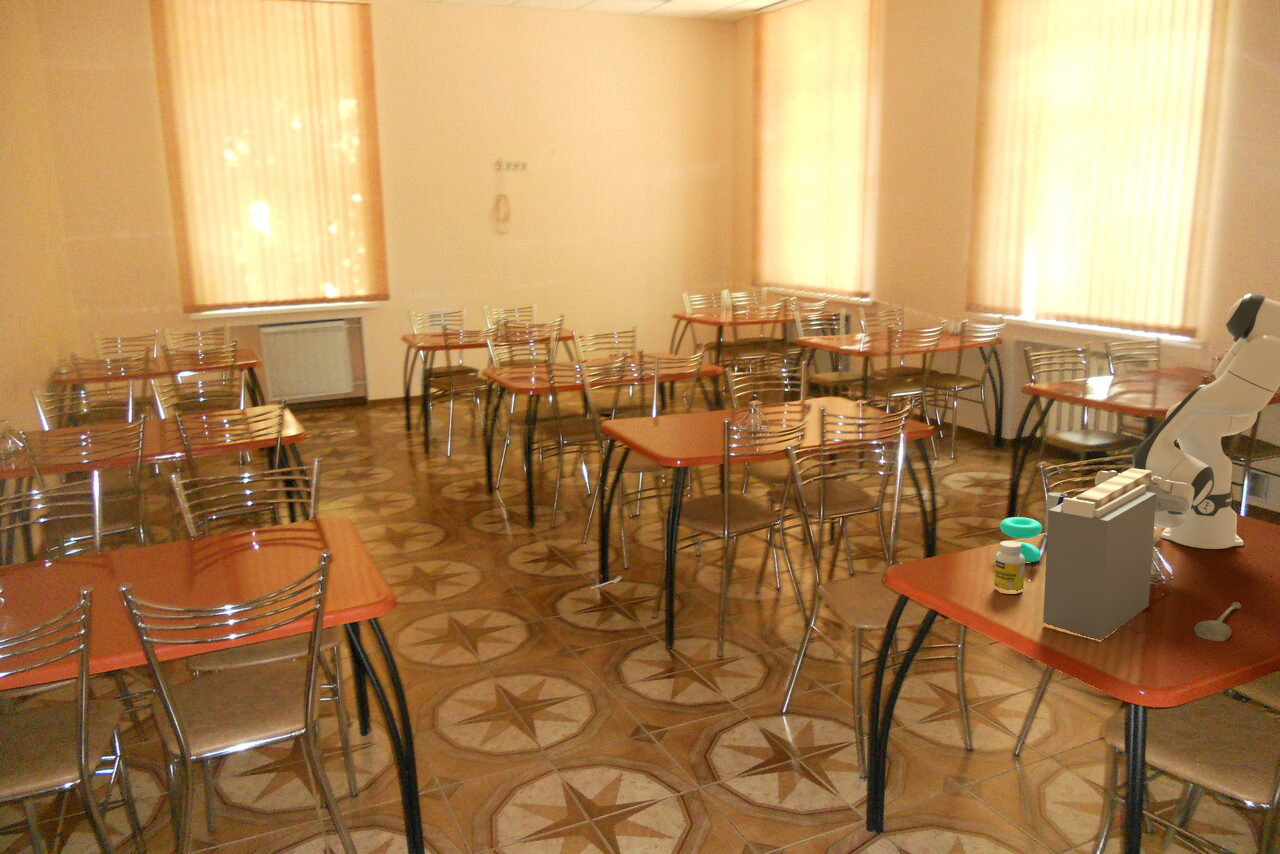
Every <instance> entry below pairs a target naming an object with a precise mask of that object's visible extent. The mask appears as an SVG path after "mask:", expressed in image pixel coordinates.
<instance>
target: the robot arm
mask: <svg viewBox="0 0 1280 854" xmlns="http://www.w3.org/2000/svg"><path fill="white" fill-rule="evenodd" d="M1225 327H1226V329H1227V330H1228V332H1229V334H1230V335H1231V336H1232V337H1233V338H1234V339H1233V341H1234V342H1233V344H1232V346H1231V347H1230V348H1229V350H1228V351H1227V353H1226V354H1225V355H1224V356H1223V358H1222V360H1221V361H1220V363H1219V364H1218V366H1217V367H1216V368H1215V371H1214V377H1215V380H1214V381H1212V382H1210V383H1209V384H1200V385H1199V386H1197V387H1195V388H1194V389H1193V390H1192V391H1191V392H1190V393H1189V394H1187V395H1186V397H1184V398H1183V399H1182V400H1181V401H1179V402H1177V403H1175V404H1173V405H1171V407H1169V409H1168V410H1167V412H1166V414H1165V419H1164V420H1163V421H1162V423H1160V425H1159V426H1158V427H1157V428H1155V430H1154V431H1153V432H1152V433H1151V434H1150V435H1149V436H1148V437H1146V438H1145V439H1144V440H1143V441H1142V442H1140V444H1138V445H1137V447H1136V448H1135V449H1134V451H1133V453H1132V455H1131V460H1132V465H1133V468H1135V469H1142V470H1149V471H1152V478H1151V484H1150V485H1148V486H1146V492H1151V493H1156V506H1155V520H1154V526H1157V527H1160V528H1163V531H1162V532H1161V534H1160V535H1161V538H1162V539H1164V540H1169V541H1172V542H1175V543H1176V544H1180V545H1183V546H1185V547H1187V546H1188V547H1191V548H1197V549H1205V550H1207V549H1208V550H1221V549H1222V550H1223V549H1228V548H1232V547H1239V546H1244V540H1243V539H1242V538H1241V537H1239V535H1238V534H1237V525H1238V524H1237V523H1238V522H1237V521H1238V519H1237V518H1238V514H1237V513H1236V512H1235V510H1233V509H1232V500H1233V491H1232V490H1231V488H1232V487H1231V484H1232V475H1233V474H1232V473H1233V462H1232V459H1230V457H1229V456H1227V455H1225V453H1224V451H1223V446H1222V437H1226V436H1227V437H1228V436H1233V435H1237V434H1239V433H1242V432H1244V431H1246V430H1248V429H1250V428H1252V426H1254V424H1255V423H1256V421H1257V419H1258V413H1259V412H1261V411H1262V410H1263V409H1264V408H1265V407H1266V406H1267V405H1268V404H1269V402H1270V401H1271V400H1272V398H1273V397H1274V395H1275V394H1276V392H1277V391H1278V389H1279V388H1280V301H1276V300H1275V299H1270V298H1266V297H1265V295H1261V294H1257V293H1247V294H1245V295H1243V296H1242V297H1241V298H1239V299H1238V300H1236V301H1235V302H1234V303H1233V304H1232V306H1231V307H1230V309H1229V310H1228V313H1227V317H1226V323H1225ZM1176 440H1177V443H1178V445H1179V448H1178V447H1176V446H1175V441H1176ZM1119 474H1120V473H1119V472H1118V471H1117V470H1109V471H1106V470H1099V471H1098V472H1097V474H1096V475H1095V480H1094V485H1095V486H1097V485H1099V484H1101V483H1103V482H1105V481H1107V480H1109V479H1111V478H1113V477H1115V476H1117V475H1119Z"/></svg>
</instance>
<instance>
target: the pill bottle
mask: <svg viewBox="0 0 1280 854" xmlns="http://www.w3.org/2000/svg"><path fill="white" fill-rule="evenodd" d="M1019 542H1020V541H1016V540H1002V541H1000V542H999V550H1000V549H1001V551H1000V552H999V551H998V552H997V553H996V555H995V557H994V578H993V579H994V582H993V586H994V585H995V586H997V587H999V588H1002V589H1005V590H1016V591H1018V590H1021V589H1023V590H1024V582H1025V579H1024V578H1025V566H1026V564H1025V558H1024V556H1023V555H1022V554H1021V553H1020V551H1021V543H1019Z"/></svg>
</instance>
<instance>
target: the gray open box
mask: <svg viewBox="0 0 1280 854" xmlns="http://www.w3.org/2000/svg"><path fill="white" fill-rule="evenodd" d="M1094 487H1096V485H1095V486H1094ZM1094 487H1091V488H1090V489H1092V488H1094ZM1090 489H1087V490H1086V491H1088V490H1090ZM1086 491H1083V492H1082V493H1084V492H1086ZM1082 493H1080V494H1082ZM1080 494H1078V495H1080ZM1078 495H1076V496H1078ZM1076 496H1074V497H1072V498H1070V497H1068V498H1064V499H1063V503H1061V504H1059V505H1057V506H1055V507H1053V508H1051V509H1049V510H1048V530H1047V536H1046V553H1045V573H1044V574H1045V575H1044V576H1045V577H1044V578H1045V579H1044V597H1043V598H1044V601H1043V620H1042V621H1043V623H1046V624H1048V625H1052V626H1054V627H1058V628H1061V629H1065V630H1068V631H1070V632H1073V633H1077V634H1080V635H1082V636H1086V637H1090V638H1094V639H1098V640H1102V639H1104V638H1105V637H1106V636H1108V635H1109V634H1111V633H1112V632H1113V631H1115V630H1116V629H1118V628H1119V627H1121V626H1122V625H1123V626H1125V625H1126V624H1127V623H1128V622H1130V621H1131V620H1132V619H1134V618H1135V617H1136V616H1137V615H1139V614H1140V613H1141V612H1143V611H1144V610H1145V609H1147V608H1148V607H1150V606H1149V605H1150V604H1149V603H1150V591H1151V589H1150V588H1151V578H1152V577H1151V575H1152V561H1153V547H1154V533H1155V532H1154V531H1155V524H1154V520H1155V506H1156V493H1151V492H1146V485H1143V484H1142V485H1140V486H1138V487H1136V488H1135V489H1133V490H1131V491H1129V492H1127V493H1125V494H1123V495H1122V496H1120V497H1118V498H1116V499H1114V500H1112V501H1110V502H1109V503H1107V504H1105V505H1103V506H1101V507H1099V508H1097V509H1096V510H1095V502H1089V501H1083V500H1077V499H1076ZM1129 620H1130V621H1129ZM1126 622H1127V623H1126ZM1125 623H1126V624H1125ZM1123 626H1122V627H1123ZM1122 627H1121V628H1122ZM1119 629H1120V628H1119ZM1119 629H1118V630H1119ZM1115 632H1116V631H1115ZM1111 635H1112V634H1111Z"/></svg>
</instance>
